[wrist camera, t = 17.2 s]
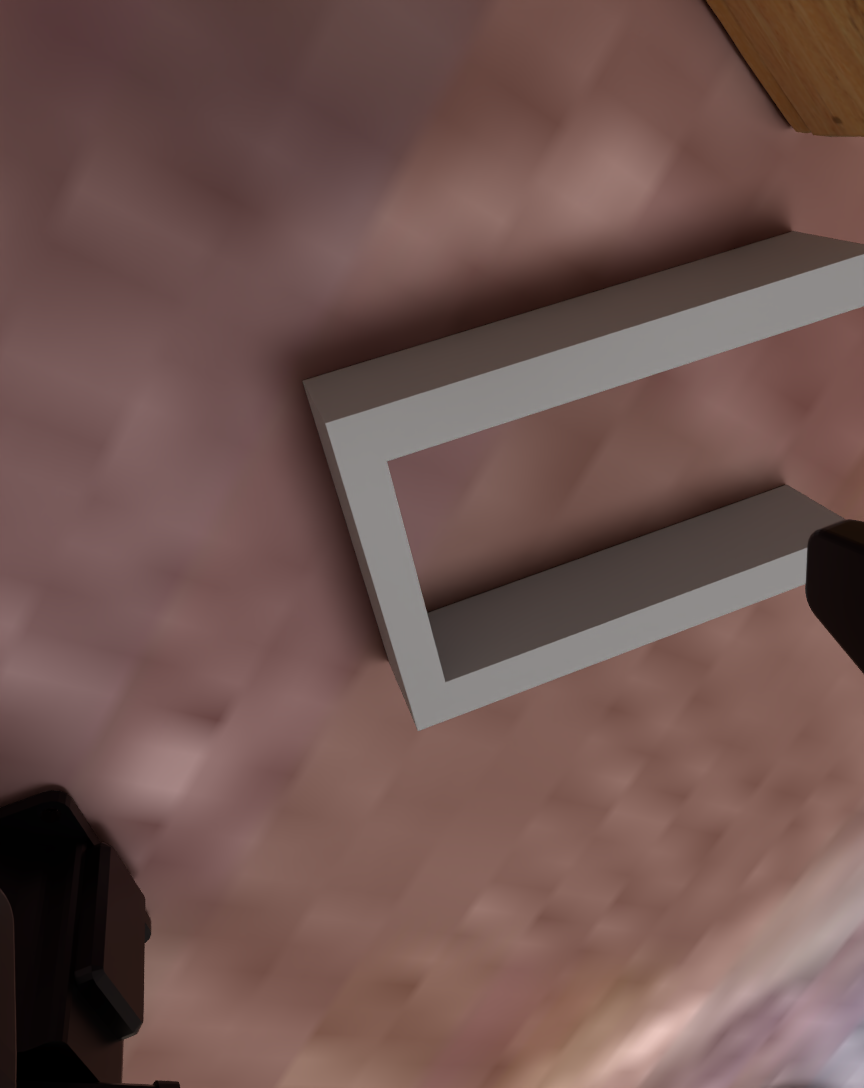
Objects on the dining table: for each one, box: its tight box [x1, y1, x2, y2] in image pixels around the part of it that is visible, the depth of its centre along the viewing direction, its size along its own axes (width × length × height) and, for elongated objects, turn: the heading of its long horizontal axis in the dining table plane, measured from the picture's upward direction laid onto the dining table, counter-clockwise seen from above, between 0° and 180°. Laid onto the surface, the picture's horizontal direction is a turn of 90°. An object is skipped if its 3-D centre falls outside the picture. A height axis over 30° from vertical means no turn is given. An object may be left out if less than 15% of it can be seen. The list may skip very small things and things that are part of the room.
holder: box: [303, 231, 864, 731], centre depth 20 cm, size 13×9×3 cm, turn 102°
